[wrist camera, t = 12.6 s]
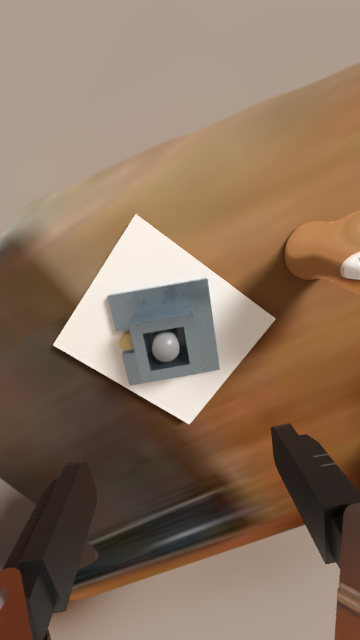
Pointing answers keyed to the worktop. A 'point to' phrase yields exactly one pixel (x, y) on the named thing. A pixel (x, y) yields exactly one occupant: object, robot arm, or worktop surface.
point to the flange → (161, 314)
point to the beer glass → (327, 251)
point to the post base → (155, 271)
